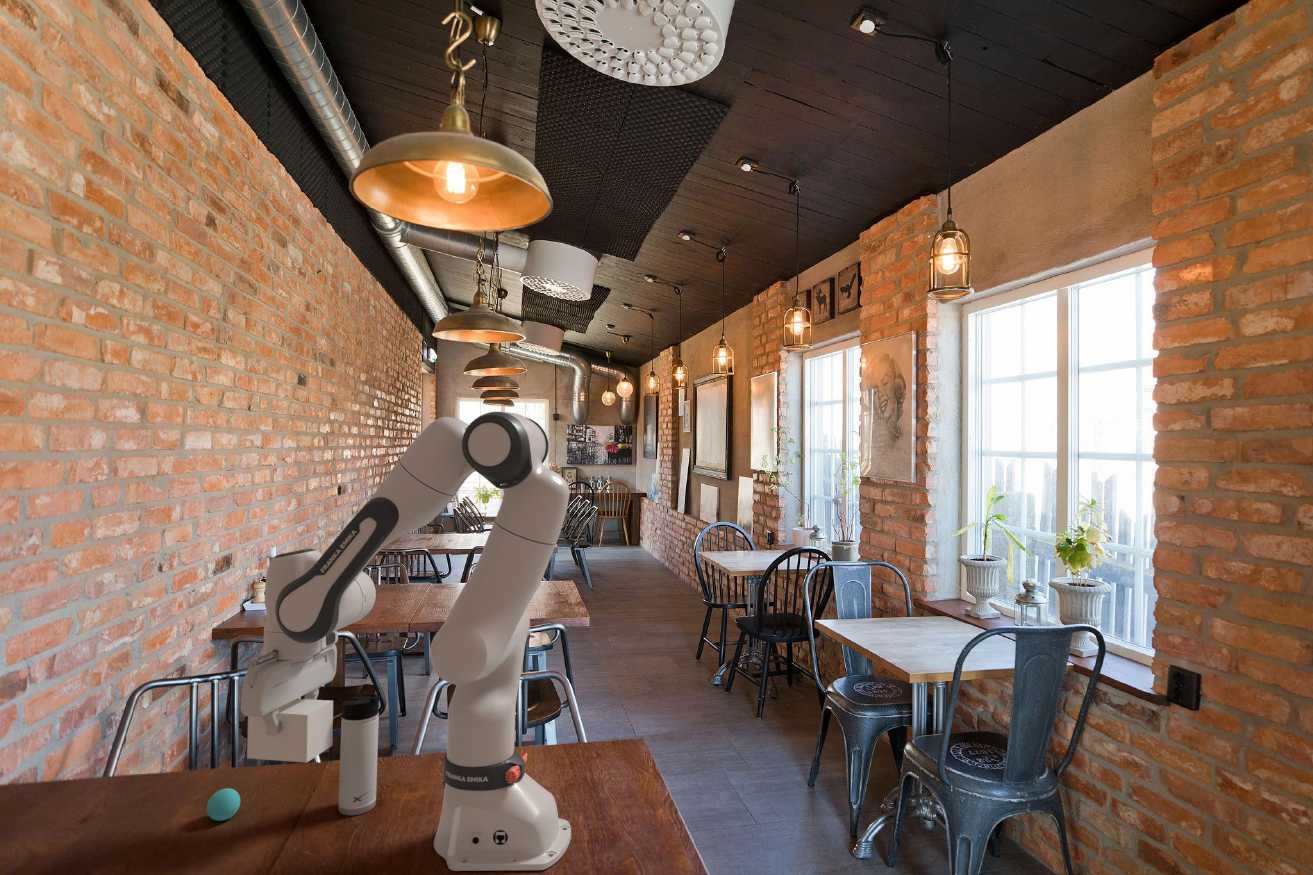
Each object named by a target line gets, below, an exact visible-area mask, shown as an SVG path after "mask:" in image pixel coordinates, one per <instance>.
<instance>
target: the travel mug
mask: <svg viewBox="0 0 1313 875" xmlns="http://www.w3.org/2000/svg"><path fill="white" fill-rule="evenodd" d="M380 701H381V695H379V694H377V693H366V694H361V695H356V696H352V697H350V698H349V699H348V700H345V701H343V702H342V703H341V704H342V705H341V706H342V707H341V711H342V712H341V721H340V722H341V724H340V747H339V748H340V752H339V753H340V754H339V756H340V757H339V780H338V782H339V783H338V811H339V813H340V814H342V815H345V816H358V815H359V816H360V815H363V814H365V813H368V812H370V811H371V810H373V809H374V808H375V807H376V805H377V803H376V802H377V785H378V784H377V779H378V778H377V777H378V748H379V719H380V718H379V716H380V713H379V710H380V709H379V706H380Z"/></svg>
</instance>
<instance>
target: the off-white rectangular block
mask: <svg viewBox="0 0 1313 875" xmlns="http://www.w3.org/2000/svg"><path fill="white" fill-rule="evenodd" d="M276 717H277V720H278V721H279V722H282V727H281V728H282V731H281V732H279V733H278V734H276V735H274V736H273V735H267V733H266V724H265V722H264V720H263V718H262V717H253V716H247V744H246V746H247V750H246V754H247V755H246V756H247V757H246V758H247V759H250V760H251V759H253V760H263V761H264V760H267V761H277V762H278V761H279V762H280V761H281V762H292V763H293V762H294V763H308V762H310V761H311V760H313V759H314V758H316V757H317V756H318V755H321V754H322V753H324V752H325V751H326V750H328V749H329V748H331V747H332V746H333V740H334V739H333V733H334V730H333V729H334V728H333V726H334V700H328V699H327V700H324V699H316V700H311V699H304V698H297V699H295V700H293V701H291V702H289V703H287V704H285V705H283V706H281V707H279V709H278V714H277V715H276Z"/></svg>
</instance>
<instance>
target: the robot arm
mask: <svg viewBox="0 0 1313 875" xmlns="http://www.w3.org/2000/svg"><path fill="white" fill-rule="evenodd" d="M549 447H550V446H549V439H548V435H547V434H546V432H545V430H544V428H542V426H541V425H540V424H539V423H537V422H536V421H535V420H533V419H531V418H530V417H529V418H528V417H525V416H523V415H521V414H519V413H516V412H509V411H508V412H507V411H505V412H504V411H490V412H487V413H484V414H482V415H479V416H478V417H476V418H474V419H473V420H472V421H471V422H470V423H469V424H468V423H467V422H465V421H463V420H461V419H459V418H455V417H453V416H452V417H450V416H444V417H443V416H442V417H439V418H437V419H435V420H433V422H431V423H430V424H428V426H427V427H426V428H425V429H424V430H422V432H421V433H420V434H419V435H418V436H417V437H416V438H415V439H414V440H413V441H412V442H411V443H410V445H409V446H408V448H407V449H406V450H405V451H404V453H403V454H402V455H401V457H400V458H399V459H398V460H397V462H396V464H394V466H393V467H392V468H391V471H390V472H389V473H388V474H387V476H386V477H385V478H384V480H383V481H382V483H381V484H380V485H379V487H378V488H377V490H376V491H375V492H374V493H373V494H372V496H371V497H370V498H369V499H368V500H367V501H366V503H365V504H364V505H363V507H361V509H360V510H359V511H358V512H357V513H356V514H355V516H354V517H353V518H352V519H351V520H350V521H349V522H348V523H347V525H346V526H345V527H344V529H342V531H340V533H339V535H338V536H336V538H335V539H334V541H332V543H331V544H330V545H329V546H328V548H327V549H326V550H325V551H324V553H323V554H322V553H321V551H320V550H318V549H314V548H305V549H300V550H294V551H290V552H285V553H280V554H277V555H275V556H274V557H273V558H272V559H271V560H270V562H269V564H268V567H267V570H266V571H267V572H266V576H265V584H264V585H265V586H264V607H265V609H266V610H265V611H266V621H265V623H264V627H263V655H259V656H256V657H255V658H253V662H252V663H251V664H250V666H248V668H247V670H246V673H245V675H244V679H243V684H242V691H241V700H240V701H241V702H240V711H241V713H242V714H243V716H245V717H248V716H253V717H262V718H263V720H264V722H265V724H266V733H267V735H273V736H274V735H276V734H278V733H279V732H281V731H282V728H281V727H282V722H279V721H278V720H277V717H276V715H277V714H278V709H279V707H281V706H283V705H285V704H287V703H289V702H291V701H293V700H295V699H300V698H302V697H303V696H304V697H303V699H311V700H318V699H317V698H318V696H319V693H320V688H321V687H323V686H324V685H326V684H328V683H331V682H332V681H333V680H334V678H335V676H336V673H337V659H338V649H337V648H338V647H337V645H336V643H338V640H339V632H338V630H340V629H344V628H346V627H348V626H349V625H351V624H354V623H356V622H358V621H360V620H361V619H363V618H365V617H366V616H368V615H369V614H370V613H371V612H372V610H373V609H374V607H375V605H376V602H377V587H376V584H375V583H374V580H373V578H372V577H371V576H370V575H369V574H368V573H367V572H366V571H364V569H365V568H366V567H367V566H368V564H369V563H370V562H371V560H372V559H373V558H374V557H375V556H376V555H377V554H378V552H380V551H381V550H383V549H384V548H385V547H386V546H388V545H389V544H391V543H392V542H393V541H395V540H397V539H399V538H400V537H403V536H404V535H407V534H409V533H412V532H413V531H416V530H418V529H421V528H422V527H425V526H427V525H428V524H430V523H432V521H433V520H434V519H435V518H436V517H438V516H439V515H440V514H441V513H442V512H443V511H444V510H445V509H446V508H447V507H448V505H449V504H450V503H451V502H452V500H453V498H454V497H455V496H456V494H457V493H458V491H459V490H460V488H461V487H462V486H463V484H464V483H465V482H466V481H467V479H468V478H469V477H470V476H471V475H472V474H473V473H474V472H477V473H478V474H479V475H480V476H482V477H483V478H484V479H486V480H487V481H488V482H489V483H490V484H491V485H493V486H494V487H495V488H497V489H499V490H503V496H502V501H501V504H500V506H499V509H498V512H497V515H496V516H495V519H494V521H493V524H492V526H491V529H490V531H489V535H488V537H487V538H486V542H485V544H484V546H483V549H482V552H481V554H480V556H479V558H478V561H477V562H476V565H475V567H474V569H473V570H472V572H471V575H470V576H469V577H468V580H467V581H466V583H465V584H464V586H463V588H462V590H461V591H460V594H459V595H458V596H457V598H456V601H455V602H454V604H453V606H452V607H451V610H450V611H449V613H448V614H447V617H446V618H445V621H444V623H443V624H441V627H440V628H439V629H438V631H437V632H436V634H435V635H434V637H433V639H432V640H431V643H430V646H429V661H430V665H431V667H432V669H433V671H434V672H435V674H436V675H437V676H438V677H439V678H440V679H441V680H443V681H444V682H446V683H448V684H452V685H455V689H454V692H453V694H452V696H451V699H450V702H449V703H448V704H449V705H448V709H447V729H446V731H447V732H446V733H447V734H446V735H447V736H446V753H445V754H444V757H443V766H442V787H443V789H444V791H443V792H444V793H443V799H442V800H443V801H442V807H441V812H440V818H439V823H438V825H437V826H438V827H437V831H436V834H435V836H434V840H433V848H434V850H435V851H436V853H437V854H438V855H439V856H440V857H442V858H443V859H444V860H445V861H446V865H447V867H448V869H449V870H450V871H454V872H460V871H461V872H463V871H464V872H465V871H468V872H469V871H470V872H471V871H472V872H474V871H475V872H476V871H479V872H480V871H481V872H482V871H483V872H486V871H491V872H493V871H497V872H498V871H543V870H547V869H549V868H550V867H552V866H553V865H554V864H556V863H557V862H558V861H559V860H560V859H561V858H562V857H563V855H564V854H565V852H566V851H567V849H568V847H569V845H570V842H571V838H572V828H571V824H570V822H569V821H568V820H566V819H563V818H561V817H559V814H558V806H557V803H556V799H555V796H554V795H553V794H552V793H551V792H550V791H548V789H546V788H544V787H543V786H542V785H540V784H539V783H538V782H537V781H536V780H535V779H533V778H532V777H531V776H529V775H528V773H526V772H525V770H526V769H525V768H526V763H527V761H528V752H526V753H524V755H523V756H521V754H520V753H519V752H518V751H517V749H516V748H515V732H516V708H517V707H516V705H517V698H518V691H519V685H520V681H521V676H522V668H523V662H524V656H525V649H526V648H525V647H526V642H527V640H528V635H529V633H530V630H531V619H530V615H529V613H528V610H527V608H528V606H529V604H530V603H531V600H532V598H534V597H533V596H534V595H535V594H536V592H537V591H538V589H539V587H540V586H541V583H542V580H543V578H544V576H545V573H546V570H547V568H548V566H549V563H550V560H551V558H552V555H553V553H554V549H555V548H556V545H557V542H558V539H559V537H560V535H561V531H562V528H563V526H564V522H565V518H566V514H567V509H568V506H569V500H570V493H571V492H570V486H569V485H568V482H567V481H566V480H565V479H564V478H563V476H561V475H560V474H559V473H557V472H555V471H554V470H552V469H549V468H547V467H546V466H545V465H544V463H545V461H546V459H547V456H548V454H549Z"/></svg>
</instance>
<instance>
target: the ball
mask: <svg viewBox="0 0 1313 875" xmlns="http://www.w3.org/2000/svg"><path fill="white" fill-rule="evenodd" d="M240 806H241V797H240V794H239V792H238V791H237V790H235V789H234V788H229V787H228V788H227V787H226V788H222V789H220V790H217V791H216V792H214V793H213V794H212V795H211V797H209V800H208V801H207V805H206V813H207V815H208V817H210V818H211V820H214V821H217V822H218V821H219V822H221V821H226V820H228V819H230V818H232V817H233V816H234V815H235V814H236V813H237V811H238V810H239V809H240Z"/></svg>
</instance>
